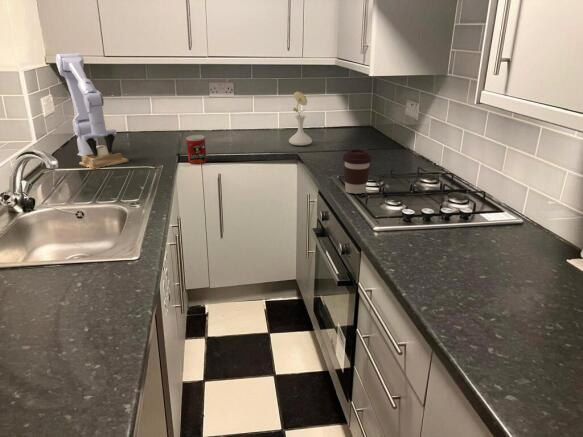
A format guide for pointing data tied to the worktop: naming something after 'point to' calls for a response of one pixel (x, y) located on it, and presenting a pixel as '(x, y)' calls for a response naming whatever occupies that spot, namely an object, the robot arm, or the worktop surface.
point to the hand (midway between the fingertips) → (102, 153)
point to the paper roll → (102, 151)
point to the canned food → (196, 149)
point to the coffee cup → (356, 170)
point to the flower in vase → (300, 123)
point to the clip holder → (102, 160)
